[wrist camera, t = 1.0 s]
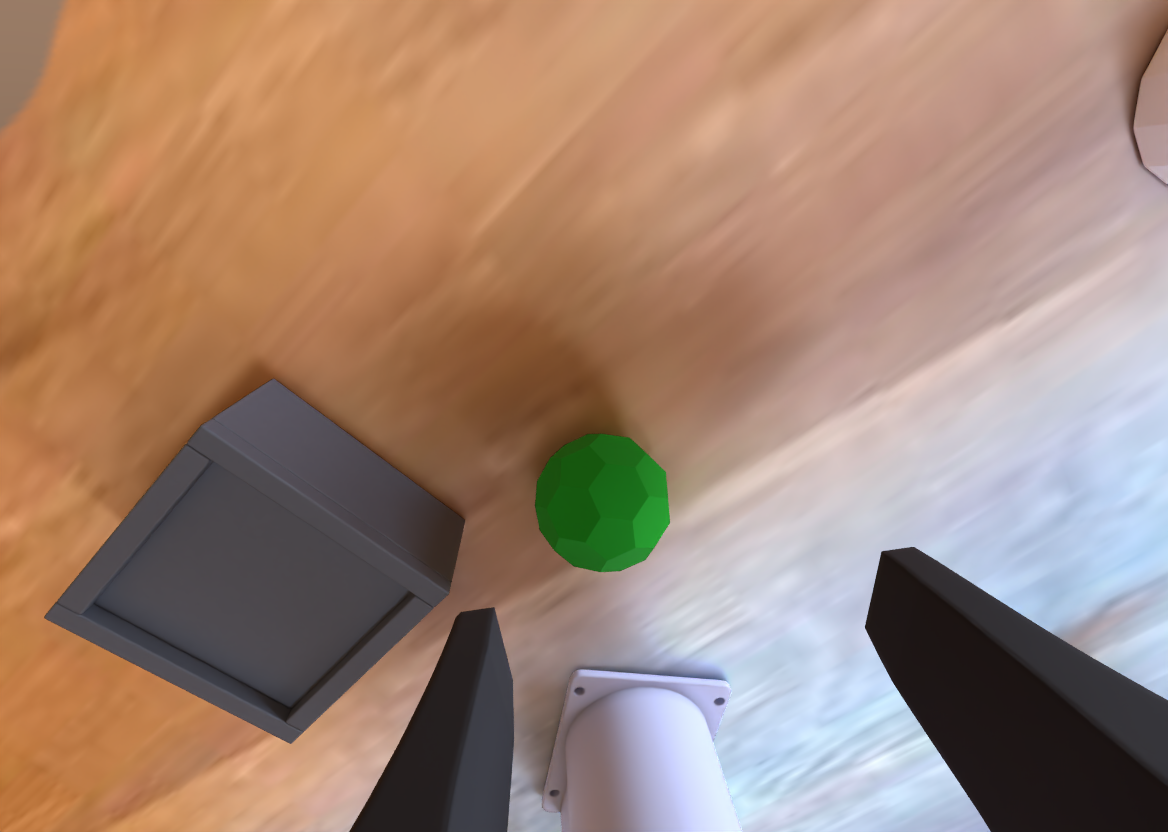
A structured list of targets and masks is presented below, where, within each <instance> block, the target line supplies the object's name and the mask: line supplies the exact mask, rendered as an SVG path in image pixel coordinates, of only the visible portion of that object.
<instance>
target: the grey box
mask: <svg viewBox="0 0 1168 832" xmlns="http://www.w3.org/2000/svg"><path fill="white" fill-rule="evenodd" d="M464 524H465V520H464V519H463V518H461V517H460V516H459V515H457V514H456V513H455V512H453V511H452V510H451V509H449V508H448V507H447V506H445V505H444V504H442V503H441V502H440V501H438V500H437V499H436V498H434V497H433V496H432V495H430V494H429V493H428V492H426V491H425V490H424V489H422V488H421V487H419V486H418V485H417V484H415V483H414V482H413V481H411V480H410V479H409V478H407V477H406V476H405V475H403V474H402V473H401V472H399V471H398V470H397V469H395V468H394V467H392V466H391V465H390V464H388V463H387V462H386V461H384V460H383V459H382V458H380V457H379V456H378V455H376V454H375V453H374V452H372V451H371V450H369V449H368V448H367V447H365V446H364V445H363V444H361V443H360V442H359V441H357V440H356V439H355V438H353V437H352V436H351V435H349V434H348V433H347V432H345V431H344V430H342V429H341V428H340V427H338V426H337V425H336V424H334V423H333V422H332V421H330V420H329V419H328V418H326V417H325V416H324V415H322V414H321V413H320V412H318V411H317V410H315V409H314V408H313V407H311V406H310V405H309V404H307V403H306V402H305V401H303V400H302V399H301V398H299V397H298V396H297V395H295V394H294V393H292V392H291V391H290V390H288V389H287V388H286V387H284V386H283V385H282V384H280V383H279V382H278V381H276V380H275V379H271V380H270V381H268V382H267V383H265V384H264V385H262V386H261V387H259V388H258V389H256V390H255V391H253V392H251V393H250V394H248V395H247V396H245V397H244V398H242V399H241V400H239V401H238V402H236V403H235V404H233V405H232V406H230V407H228V408H227V409H225V410H224V411H222V412H221V413H219V414H218V415H216V416H215V417H213V418H212V419H210V420H209V421H207V422H206V423H204V424H202V425H201V426H200V427H199V428H198V429H197V431H196V432H195V433H194V434H193V436H192V437H191V438H190V439H189V440H188V442H187V444H185V445H184V447H183V448H182V449H181V450H180V451H179V453H178V454H177V455H176V456H175V458H174V459H173V460H172V461H171V462H170V464H169V465H168V466H167V467H166V468H165V470H164V471H163V472H162V473H161V475H160V476H159V477H158V478H157V479H156V481H155V482H154V483H153V484H152V486H151V487H150V488H149V489H148V490H147V492H146V493H145V494H144V495H143V497H142V498H141V499H140V500H139V501H138V503H137V504H136V505H135V506H134V508H133V509H132V510H131V511H130V512H129V514H128V515H127V516H126V517H125V519H124V520H123V521H122V522H121V523H120V525H119V526H118V527H117V528H116V530H115V531H114V532H113V533H112V534H111V536H110V537H109V538H108V539H107V541H106V542H105V543H104V544H103V545H102V547H101V548H100V549H99V550H98V552H97V553H96V554H95V555H94V556H93V558H92V559H91V560H90V561H89V563H88V564H87V565H86V566H85V567H84V569H83V570H82V571H81V572H80V574H79V575H78V576H77V577H76V578H75V580H74V581H73V582H72V583H71V585H70V586H69V587H68V588H67V589H66V591H65V592H64V593H63V594H62V596H61V597H60V598H59V599H58V601H57V602H56V603H55V604H54V605H53V606H52V608H51V609H50V610H49V611H48V613H47V614H46V615H45V617H44V618H45V619H47V620H49V621H51V622H53V623H55V624H57V625H59V626H61V627H62V628H64V629H66V630H68V631H70V632H72V633H74V634H76V635H78V636H80V637H82V638H84V639H86V640H88V641H90V642H92V643H94V644H96V645H98V646H100V647H102V648H104V649H106V650H108V651H110V652H111V653H113V654H115V655H117V656H119V657H121V658H123V659H125V660H127V661H129V662H131V663H133V664H135V665H137V666H139V667H141V668H143V669H145V670H147V671H149V672H151V673H153V674H155V675H157V676H159V677H160V678H162V679H164V680H166V681H168V682H170V683H172V684H174V685H176V686H178V687H180V688H182V689H184V690H186V691H188V692H190V693H192V694H194V695H196V696H198V697H200V698H202V699H204V700H206V701H207V702H209V703H211V704H213V705H215V706H217V707H219V708H221V709H223V710H225V711H227V712H229V713H231V714H233V715H235V716H237V717H239V718H241V719H243V720H245V721H247V722H249V723H251V724H253V725H255V726H256V727H258V728H260V729H262V730H264V731H266V732H268V733H270V734H272V735H274V736H276V737H278V738H280V739H282V740H284V741H286V742H288V743H290V744H291V743H293V742H294V741H295V740H296V739H297V738H298V737H299V736H300V735H301V734H302V733H303V732H304V731H305V730H306V729H307V728H308V727H309V726H310V725H311V724H312V723H313V722H315V721H316V720H317V719H318V718H319V717H320V716H321V715H322V714H323V713H324V712H325V711H326V710H327V709H328V708H329V707H330V706H331V705H332V704H333V703H335V702H336V701H337V700H338V699H339V698H340V697H341V696H342V695H343V694H344V693H345V692H346V691H347V690H348V689H349V688H350V687H351V686H352V685H353V684H354V683H356V682H357V681H358V680H359V679H360V678H361V677H362V676H363V675H364V674H365V673H366V672H367V671H368V670H369V669H370V668H371V667H372V666H373V665H374V664H376V663H377V662H378V661H379V660H380V659H381V658H382V657H383V656H384V655H385V654H386V653H387V652H388V651H389V650H390V649H391V648H392V647H393V646H394V645H395V644H397V643H398V642H399V641H400V640H401V639H402V638H403V637H404V636H405V635H406V634H407V633H408V632H409V631H410V630H411V629H412V628H413V627H414V626H415V625H417V624H418V623H419V622H420V621H421V620H422V619H423V618H424V617H425V616H426V615H427V614H428V613H429V612H430V611H431V610H432V609H433V608H434V607H435V606H436V605H438V604H439V603H440V602H441V601H442V600H443V599H444V598H445V597H446V596H447V595H448V594H449V591H450V587H451V582H452V578H453V573H454V569H455V565H456V560H457V556H458V551H459V547H460V542H461V538H462V533H463V529H464Z"/></svg>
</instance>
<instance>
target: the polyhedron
mask: <svg viewBox="0 0 1168 832" xmlns="http://www.w3.org/2000/svg"><path fill="white" fill-rule="evenodd" d="M535 508H536V513H537V519H538V524H539V529H540V531H541V533H542V534H543V536H544V537H545V538H546V540H547V541H548V542H549V544H550V545H551V547H552V548H553V549H554V551H556V552H557V553H558V554H559V555H560V556H562V557H563V558H564V559H565V560H567V561H568V562H569V563H570V564H571V565H573V566H574V567H579V568H584V569H588V570H593V571H598V572H612V571H622V570H624V569H626V568H628V567H631V566H633V565H635V564H637V563H639V562H642V561H644V560H646V558H647V557H648V556H649V554H650V553H651V551H652V550H653V549H654V547H655V546H656V544H657V542H658V541H659V539H660V538H661V536H662V535H663V533H664V531H665V530H666V528H667V527H668V525H669V523H670V516H669V504H668V492H667V481H666V472H665V471H664V470H663V469H662V468H661V467H660V466H659V465H658V464H657V463H656V462H655V461H654V460H653V459H652V458H651V457H650V456H649V455H648V454H647V453H645V452H644V451H643V450H642V449H641V448H640V447H639V446H638V445H637V444H636V443H635V442H634V441H633V440H632V439H631V438H629V437H621V436H614V435H606V434H587V435H585V436H583V437H581V438H579V439H577V440H575V441H572V442H570V443H568V444H566V445H564V446H563V447H562V448H561V449H560V450H558V451H557V452H556V453H555V454H554V455H553V456H552V457H551V458H550V459H549V461H548V463H547V465H546V466H545V468H544V470H543V472H542V473H541V475H540V477H539V479H538V481H537V488H536V500H535Z"/></svg>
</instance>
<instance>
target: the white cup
mask: <svg viewBox="0 0 1168 832" xmlns="http://www.w3.org/2000/svg"><path fill="white" fill-rule="evenodd" d="M1133 129H1134V133H1135V137H1136V141H1137V144H1138V148H1139V151H1140V155H1141V158H1142V162H1143V165H1144V166H1145V167H1146V168H1147V169H1148V170H1150V171H1151V172H1152V173H1153V174H1155V175H1156V176H1157V177H1158V178H1159V179H1161V180H1162V181H1163V182H1164V183H1166V184H1167V185H1168V30H1167V32H1166V33H1165V35H1164V37H1163V39H1162V41H1161V43H1160V45H1159V47H1158V49H1157V50H1156V52H1155V54H1154V56H1153V58H1152V60H1151V62H1150V64H1149V66H1148V67H1147V69H1146V71H1145V73H1144V75H1143V77H1142V79H1141V83H1140V89H1139V95H1138V100H1137V106H1136V113H1135V119H1134V125H1133Z"/></svg>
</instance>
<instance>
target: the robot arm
mask: <svg viewBox="0 0 1168 832" xmlns="http://www.w3.org/2000/svg"><path fill="white" fill-rule="evenodd" d="M865 629H866V631H867V633H868V635H869V637H870V639H871V641H872V643H873V645H874V647H875V649H876V651H877V653H878V655H879V657H880V659H881V661H882V663H883V665H884V667H885V669H886V670H887V672H888V674H889V676H890V678H891V680H892V682H893V683H894V685H895V686H896V688H897V690H898V691H899V693H900V694H901V696H902V697H903V699H904V700H905V702H906V703H907V705H908V706H909V708H910V710H911V711H912V713H913V714H914V716H915V717H916V719H917V720H918V722H919V723H920V725H921V726H922V728H923V729H924V731H925V732H926V734H927V735H928V737H929V738H930V740H931V741H932V743H933V744H934V746H935V747H936V749H937V750H938V752H939V753H940V755H941V756H942V758H943V759H944V761H945V762H946V764H947V765H948V767H949V768H950V770H951V771H952V773H953V774H954V776H955V777H956V779H957V780H958V782H959V783H960V785H961V786H962V788H963V789H964V791H965V792H966V794H967V795H968V797H969V798H970V800H971V801H972V803H973V804H974V806H975V807H976V809H977V810H978V812H979V813H980V815H981V816H982V818H983V820H984V821H985V823H986V824H987V826H988V828H989V829H990V831H991V832H1168V700H1166V699H1164V698H1163V697H1161V696H1159V695H1157V694H1155V693H1153V692H1152V691H1150V690H1148V689H1146V688H1144V687H1143V686H1141V685H1139V684H1137V683H1136V682H1134V681H1132V680H1130V679H1129V678H1127V677H1125V676H1123V675H1122V674H1120V673H1118V672H1116V671H1115V670H1113V669H1111V668H1109V667H1108V666H1106V665H1104V664H1102V663H1100V662H1099V661H1097V660H1095V659H1093V658H1092V657H1090V656H1088V655H1087V654H1085V653H1083V652H1082V651H1080V650H1078V649H1077V648H1075V647H1073V646H1072V645H1070V644H1068V643H1067V642H1065V641H1063V640H1062V639H1060V638H1058V637H1057V636H1055V635H1053V634H1052V633H1050V632H1048V631H1047V630H1045V629H1044V628H1042V627H1040V626H1039V625H1037V624H1036V623H1034V622H1032V621H1031V620H1029V619H1027V618H1026V617H1024V616H1023V615H1021V614H1019V613H1018V612H1016V611H1015V610H1013V609H1012V608H1010V607H1008V606H1007V605H1005V604H1004V603H1002V602H1000V601H999V600H997V599H996V598H994V597H993V596H991V595H989V594H988V593H986V592H985V591H983V590H982V589H980V588H978V587H977V586H975V585H974V584H972V583H971V582H969V581H968V580H966V579H964V578H963V577H961V576H960V575H958V574H957V573H955V572H953V571H952V570H950V569H949V568H947V567H946V566H944V565H942V564H941V563H939V562H938V561H936V560H934V559H933V558H931V557H930V556H928V555H926V554H925V553H923V552H921V551H920V550H918V549H916V548H915V547H909V548H902V549H895V550H888V551H882V552H881V557H880V561H879V566H878V570H877V575H876V579H875V584H874V588H873V593H872V597H871V602H870V606H869V611H868V615H867V620H866V625H865ZM578 687H581V688H580V689H577V688H578ZM731 692H732V690H731V688H730V685H729V683H728V682H726V681H723V680H712V679H700V678H687V677H674V676H661V675H648V674H635V673H622V672H609V671H596V670H583V669H581V670H577V671H574V672H573V673H572V674H571V676H570V680H569V684H568V689H567V693H566V697H565V702H564V706H563V710H562V715H561V719H560V723H559V728H558V732H557V736H556V741H555V745H554V749H553V754H552V758H551V762H550V766H549V771H548V775H547V779H546V784H545V788H544V792H543V797H542V808H543V809H544V810H545V811H547V812H560V813H561V829H562V832H743V831H742V828H741V825H740V822H739V819H738V816H737V813H736V810H735V807H734V804H733V801H732V798H731V795H730V792H729V789H728V786H727V783H726V780H725V777H724V774H723V771H722V768H721V765H720V762H719V759H718V756H717V753H716V750H715V747H714V744H713V742H714V739H715V736H716V734H717V731H718V728H719V726H720V723H721V720H722V718H723V715H724V712H725V709H726V707H727V704H728V701H729V699H730V696H731ZM513 747H514V709H513V679H512V675H511V671H510V667H509V663H508V659H507V655H506V651H505V647H504V643H503V639H502V636H501V632H500V628H499V624H498V620H497V616H496V612H495V608H494V607H493V608H486V609H479V610H472V611H465V612H461V613H460V614H459V615H458V616H457V617H456V619H455V621H454V624H453V627H452V629H451V632H450V634H449V637H448V639H447V642H446V644H445V647H444V649H443V651H442V654H441V656H440V658H439V661H438V663H437V665H436V667H435V670H434V672H433V674H432V676H431V678H430V681H429V683H428V685H427V687H426V689H425V692H424V694H423V696H422V698H421V700H420V702H419V704H418V706H417V708H416V710H415V712H414V714H413V716H412V718H411V720H410V722H409V724H408V726H407V728H406V730H405V732H404V734H403V736H402V738H401V740H400V742H399V744H398V746H397V748H396V750H395V751H394V753H393V755H392V757H391V759H390V761H389V762H388V764H387V766H386V768H385V770H384V772H383V773H382V775H381V777H380V779H379V781H378V782H377V784H376V786H375V788H374V790H373V792H372V793H371V795H370V797H369V799H368V801H367V802H366V804H365V806H364V807H363V809H362V811H361V813H360V814H359V816H358V818H357V819H356V821H355V823H354V825H353V826H352V828H351V830H350V831H349V832H507V827H508V814H509V801H510V788H511V774H512V761H513Z"/></svg>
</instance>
